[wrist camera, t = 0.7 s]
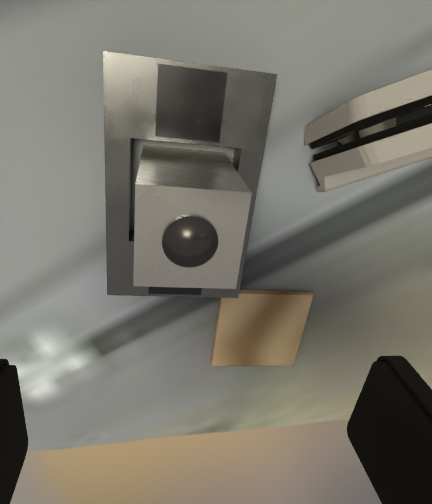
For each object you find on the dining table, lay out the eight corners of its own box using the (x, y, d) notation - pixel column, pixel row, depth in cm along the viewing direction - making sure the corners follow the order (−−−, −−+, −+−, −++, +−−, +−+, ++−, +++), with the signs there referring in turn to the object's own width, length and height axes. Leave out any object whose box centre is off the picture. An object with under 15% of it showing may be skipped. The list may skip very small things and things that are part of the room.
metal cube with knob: (223, 152, 26) (252, 193, 17) (214, 224, 28) (236, 290, 20) (143, 145, 25) (135, 185, 16) (141, 220, 27) (132, 288, 19)
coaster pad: (310, 291, 32) (313, 295, 32) (291, 360, 36) (293, 365, 35) (221, 289, 31) (222, 293, 30) (210, 361, 34) (211, 365, 34)
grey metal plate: (268, 73, 24) (277, 74, 22) (233, 284, 31) (238, 298, 29) (107, 52, 22) (102, 51, 20) (110, 280, 29) (107, 295, 27)
